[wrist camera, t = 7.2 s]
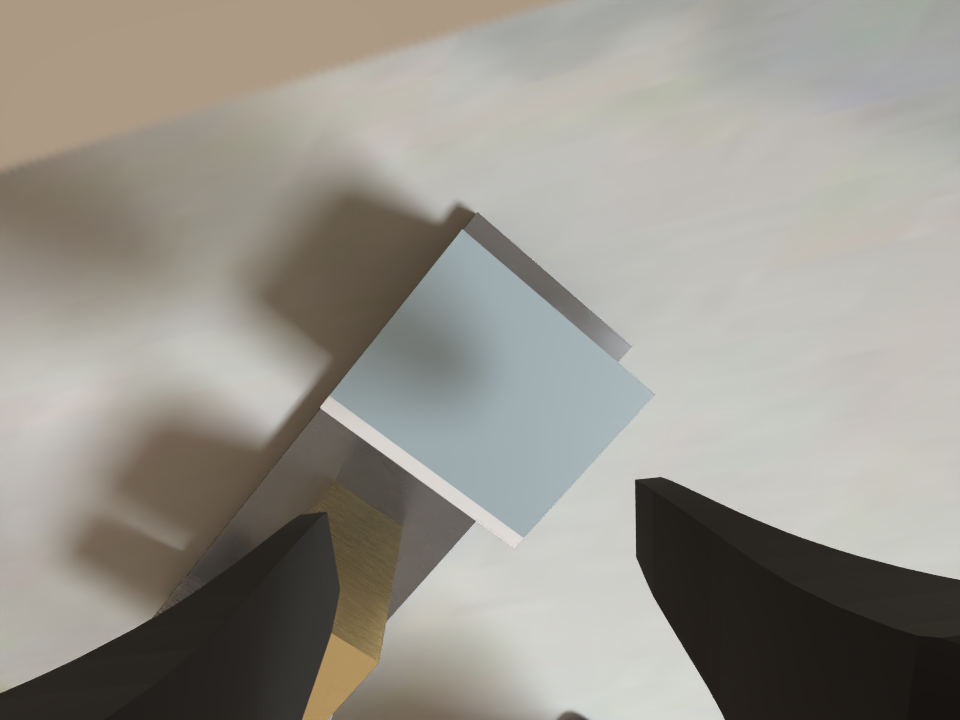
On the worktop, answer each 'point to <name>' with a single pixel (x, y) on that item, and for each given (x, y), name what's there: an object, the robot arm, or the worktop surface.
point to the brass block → (354, 595)
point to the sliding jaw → (487, 392)
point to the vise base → (377, 464)
